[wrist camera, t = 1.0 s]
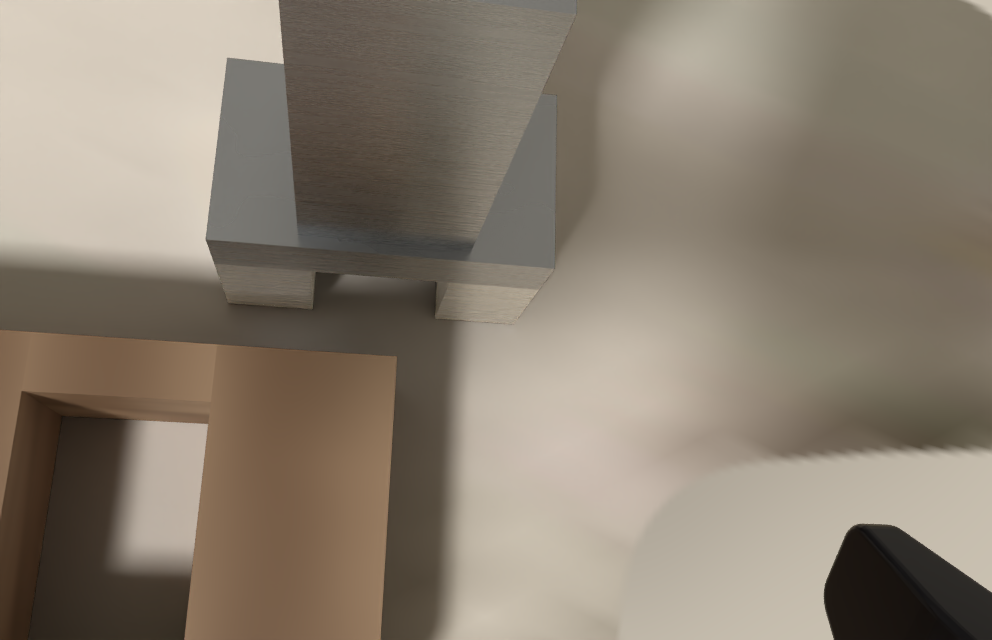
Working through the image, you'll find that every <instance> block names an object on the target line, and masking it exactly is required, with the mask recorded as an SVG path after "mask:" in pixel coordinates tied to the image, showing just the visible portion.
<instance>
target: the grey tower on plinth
mask: <svg viewBox="0 0 992 640" xmlns="http://www.w3.org/2000/svg"><path fill="white" fill-rule="evenodd" d="M279 9H280V21H281V33H282V46H283V58H284V64H278V63H269V62H261V61H252V60H243V59H234V58H227V64H226V73H225V81H224V89H223V98H222V106H221V115H220V123H219V131H218V140H217V148H216V157H215V165H214V173H213V182H212V190H211V199H210V207H209V216H208V224H207V232H206V242H207V244H208V247H209V250H210V253H211V256H212V259H213V261H214V264H215V267H216V270H217V273H218V275H219V278H220V281H221V284H222V287H223V290H224V292H225V295H226V298H227V301H228V303H234V304H247V305H261V306H274V307H287V308H301V309H313V299H314V287H315V275H316V272H324V273H337V274H349V275H362V276H374V277H386V278H399V279H411V280H424V281H436V303H435V318H436V319H449V320H463V321H476V322H490V323H503V324H514V323H515V322H516V320H517V319H518V318H519V316H520V315H521V314H522V312H523V311H524V309H525V308H526V307H527V305H528V304H529V303H530V301H531V300H532V299H533V297H534V296H535V295H536V293H537V292H538V291H539V289H540V288H541V287H542V285H543V284H544V282H545V281H546V280H547V278H548V277H549V276H550V274H551V273H552V272H553V270H554V269H555V205H556V126H557V95H550V94H541V93H542V91H543V89H544V87H545V84H546V82H547V80H548V78H549V75H550V73H551V71H552V69H553V67H554V64H555V62H556V60H557V58H558V55H559V53H560V51H561V49H562V46H563V44H564V42H565V40H566V37H567V35H568V33H569V31H570V28H571V26H572V24H573V22H574V19H575V17H576V15H577V0H279Z"/></svg>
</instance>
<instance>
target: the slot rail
mask: <svg viewBox="0 0 992 640" xmlns="http://www.w3.org/2000/svg"><path fill="white" fill-rule="evenodd" d="M396 367H397V356H382V355H368V354H353V353H338V352H323V351H308V350H293V349H279V348H264V347H249V346H234V345H219V344H204V343H190V342H175V341H160V340H145V339H130V338H115V337H101V336H86V335H71V334H56V333H41V332H26V331H12V330H0V640H28V634H29V628H30V621H31V615H32V608H33V602H34V595H35V589H36V582H37V576H38V569H39V563H40V557H41V550H42V544H43V537H44V531H45V524H46V518H47V511H48V505H49V498H50V492H51V485H52V479H53V472H54V466H55V459H56V453H57V446H58V440H59V433H60V427H61V420H62V416H75V417H93V418H112V419H130V420H148V421H167V422H185V423H204V424H208V431H207V440H206V449H205V458H204V467H203V476H202V485H201V494H200V503H199V512H198V521H197V530H196V539H195V548H194V556H193V565H192V574H191V583H190V592H189V601H188V610H187V619H186V628H185V637H184V640H381V623H382V606H383V588H384V571H385V554H386V537H387V520H388V503H389V486H390V469H391V452H392V435H393V418H394V401H395V384H396Z"/></svg>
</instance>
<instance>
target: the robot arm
mask: <svg viewBox="0 0 992 640" xmlns="http://www.w3.org/2000/svg"><path fill="white" fill-rule="evenodd" d="M824 604H825V610H826V613H827V617H828V620H829V624H830V628H831V631H832V635H833V638H834V640H992V592H990V591H989V590H987V589H986V588H984V587H983V586H981V585H980V584H978V583H977V582H976V581H974V580H973V579H971V578H970V577H969V576H967V575H965V574H964V573H963V572H961V571H960V570H958V569H957V568H956V567H954V566H953V565H951V564H950V563H948V562H947V561H945V560H944V559H942V558H941V557H940V556H938V555H937V554H935V553H934V552H933V551H931V550H930V549H928V548H927V547H925V546H924V545H923V544H921V543H920V542H918V541H917V540H915V539H914V538H912V537H911V536H910V535H908V534H907V533H905V532H904V531H902V530H901V529H899V528H897V527H895V526H892V525H882V524H857V525H854V526H853V527H852V528H850V530H848V532H847V533H846V536H845V538H844V540H843V542H842V545H841V547H840V550H839V552H838V554H837V556H836V559H835V561H834V564H833V566H832V568H831V571H830V573H829V575H828V578H827V580H826V583H825V589H824Z"/></svg>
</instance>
